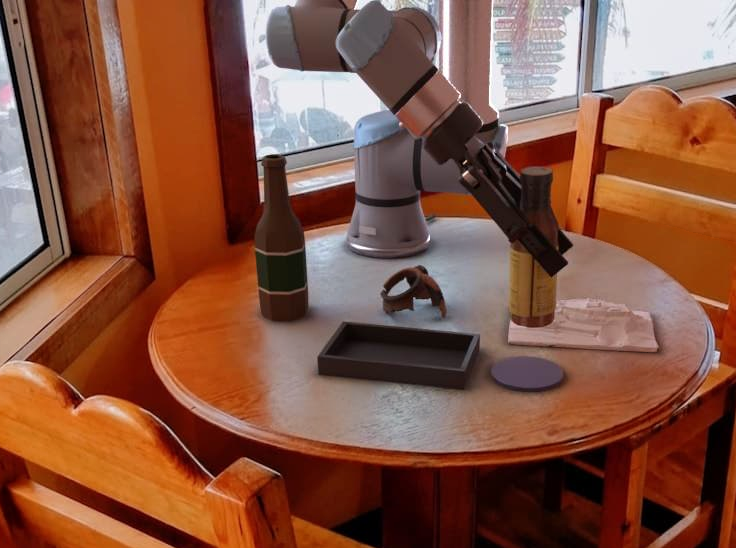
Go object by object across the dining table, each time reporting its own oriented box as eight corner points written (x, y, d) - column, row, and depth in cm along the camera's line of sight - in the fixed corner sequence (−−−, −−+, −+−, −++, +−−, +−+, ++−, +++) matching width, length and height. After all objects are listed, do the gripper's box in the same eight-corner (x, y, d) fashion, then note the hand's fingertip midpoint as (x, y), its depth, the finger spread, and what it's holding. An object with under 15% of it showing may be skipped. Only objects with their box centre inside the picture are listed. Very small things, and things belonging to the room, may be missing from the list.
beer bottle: (250, 317, 153) (235, 159, 140) (277, 300, 159) (265, 147, 145) (293, 326, 150) (282, 166, 137) (319, 308, 156) (310, 153, 143)
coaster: (496, 356, 141) (496, 353, 141) (566, 363, 139) (566, 359, 139) (485, 387, 133) (485, 383, 133) (558, 395, 131) (559, 391, 131)
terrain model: (501, 315, 157) (501, 284, 154) (645, 309, 156) (647, 278, 154) (509, 358, 143) (509, 325, 140) (667, 352, 142) (671, 319, 140)
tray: (343, 338, 146) (342, 321, 145) (479, 351, 143) (480, 333, 141) (318, 374, 136) (317, 356, 135) (463, 389, 132) (464, 371, 131)
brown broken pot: (450, 329, 150) (425, 289, 145) (396, 349, 154) (370, 310, 149) (453, 282, 158) (430, 242, 153) (402, 302, 162) (378, 264, 157)
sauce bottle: (555, 313, 134) (568, 164, 123) (552, 331, 129) (566, 178, 118) (508, 310, 135) (516, 162, 124) (503, 328, 129) (511, 175, 119)
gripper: (435, 125, 130) (548, 254, 136) (401, 161, 114) (531, 306, 120) (476, 84, 126) (591, 219, 132) (447, 116, 110) (578, 268, 116)
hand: (562, 260), depth 126 cm, fingers closed on sauce bottle, 6 cm apart
